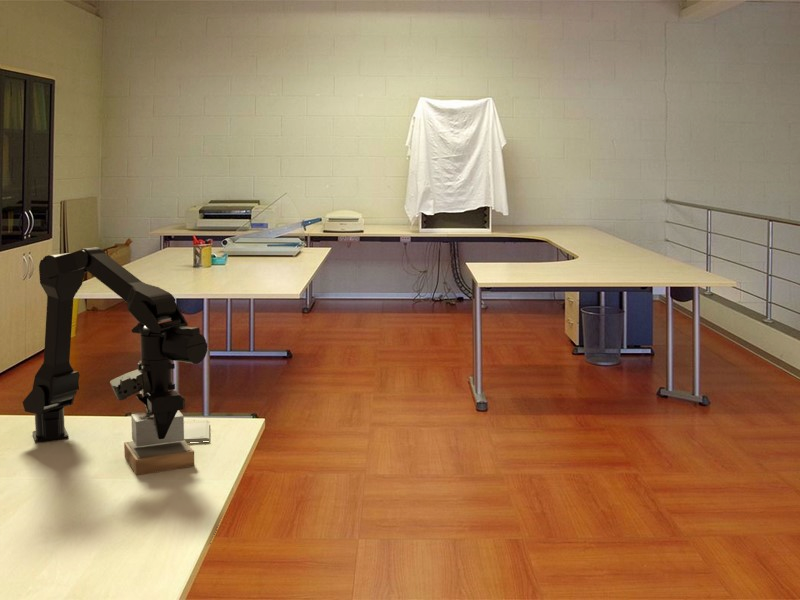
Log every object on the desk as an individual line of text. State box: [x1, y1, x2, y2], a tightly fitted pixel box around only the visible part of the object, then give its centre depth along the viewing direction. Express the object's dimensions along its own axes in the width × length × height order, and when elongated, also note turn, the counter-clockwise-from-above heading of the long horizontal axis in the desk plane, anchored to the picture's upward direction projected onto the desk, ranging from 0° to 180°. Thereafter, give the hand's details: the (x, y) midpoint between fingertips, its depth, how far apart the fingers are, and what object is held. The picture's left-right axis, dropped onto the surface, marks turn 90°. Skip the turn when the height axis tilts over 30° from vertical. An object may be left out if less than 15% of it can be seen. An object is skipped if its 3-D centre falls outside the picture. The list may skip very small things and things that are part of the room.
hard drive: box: [184, 420, 210, 443], centre depth 175 cm, size 2×8×12 cm
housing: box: [130, 410, 185, 447], centre depth 157 cm, size 9×5×5 cm, turn 118°
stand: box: [123, 440, 195, 476], centre depth 158 cm, size 11×11×3 cm
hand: (158, 434), depth 157 cm, fingers closed on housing, 5 cm apart
